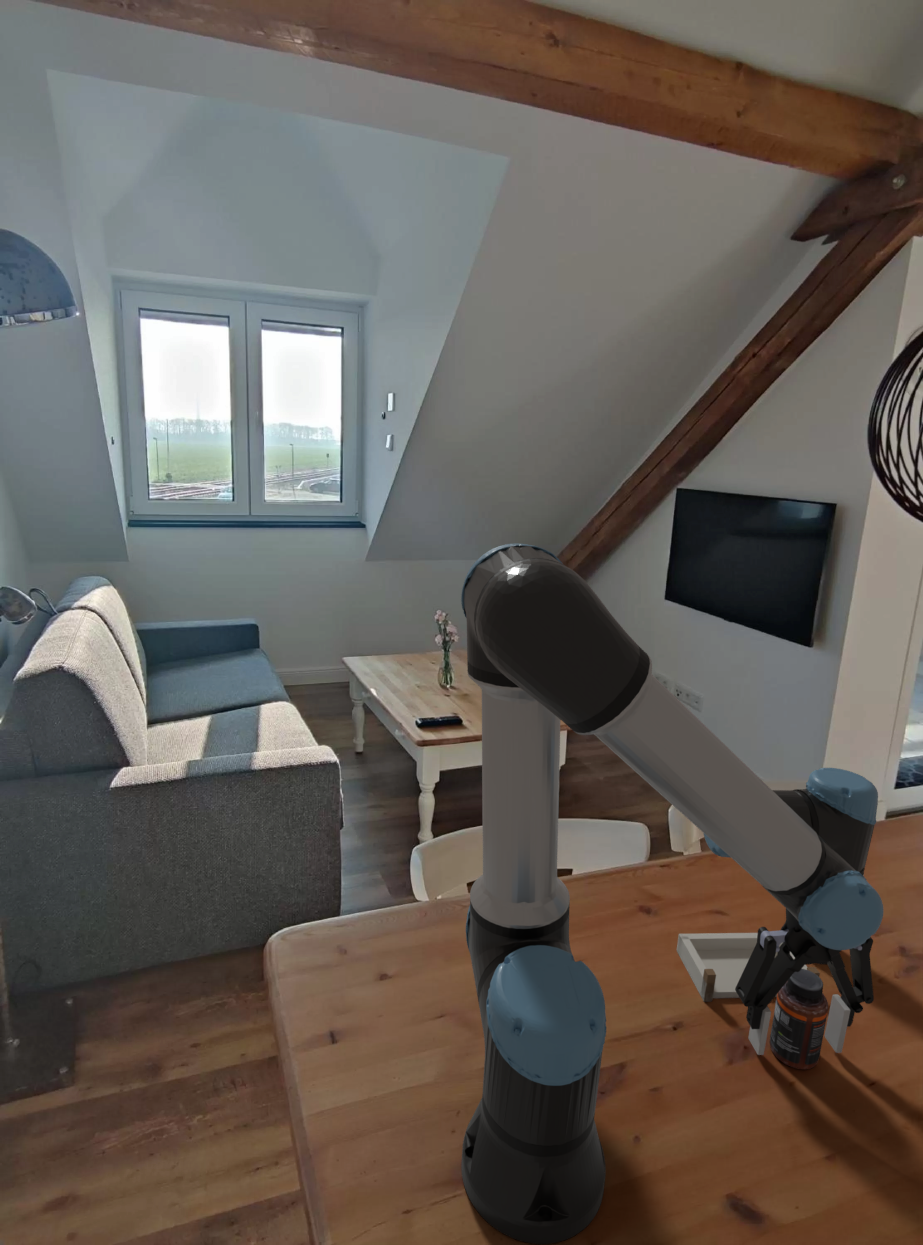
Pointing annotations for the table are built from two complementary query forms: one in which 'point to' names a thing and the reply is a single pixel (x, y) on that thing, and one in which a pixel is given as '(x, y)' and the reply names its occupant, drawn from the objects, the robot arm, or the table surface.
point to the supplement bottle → (799, 1020)
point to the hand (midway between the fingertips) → (794, 1045)
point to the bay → (718, 961)
